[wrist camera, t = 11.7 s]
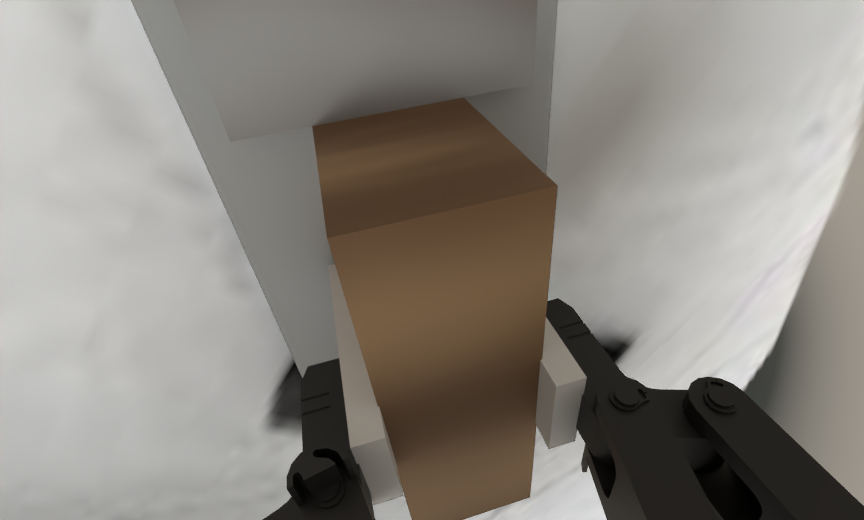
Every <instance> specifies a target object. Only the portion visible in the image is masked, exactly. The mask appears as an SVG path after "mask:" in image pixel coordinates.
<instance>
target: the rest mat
mask: <svg viewBox="0 0 864 520" xmlns="http://www.w3.org/2000/svg"><path fill="white" fill-rule="evenodd" d="M131 1H132V3H133V6H134V8H135V10H136V12H137V15H138V17H139V19H140V21H141V23H142V26H143V28H144V30H145V32H146V34H147V37H148V39H149V41H150V43H151V45H152V48H153V50H154V52H155V54H156V56H157V59H158V61H159V63H160V65H161V67H162V70H163V72H164V74H165V76H166V78H167V81H168V83H169V85H170V87H171V90H172V92H173V94H174V96H175V98H176V101H177V103H178V105H179V107H180V109H181V112H182V114H183V116H184V118H185V120H186V123H187V125H188V127H189V129H190V131H191V134H192V136H193V138H194V140H195V142H196V145H197V147H198V149H199V151H200V153H201V156H202V158H203V160H204V162H205V164H206V167H207V169H208V171H209V173H210V176H211V178H212V180H213V182H214V184H215V187H216V189H217V191H218V193H219V195H220V198H221V200H222V202H223V204H224V206H225V209H226V211H227V213H228V215H229V217H230V220H231V222H232V224H233V226H234V228H235V231H236V233H237V235H238V237H239V239H240V242H241V244H242V246H243V248H244V251H245V253H246V255H247V257H248V259H249V262H250V264H251V266H252V268H253V270H254V273H255V275H256V277H257V279H258V281H259V284H260V286H261V288H262V290H263V292H264V295H265V297H266V299H267V301H268V303H269V306H270V308H271V310H272V312H273V314H274V317H275V319H276V321H277V323H278V325H279V328H280V330H281V332H282V334H283V337H284V339H285V341H286V343H287V345H288V348H289V350H290V352H291V354H292V356H293V359H294V361H295V363H296V365H297V367H298V370H299V372H300V374H301V376H302V378H303V376H304V374H305V372H306V369H307V367H308V366H311V365H315V364H319V363H322V362H326V361H330V360H334V359H337V358H339V352H338V344H337V336H336V328H335V320H334V312H333V304H332V296H331V288H330V279H329V271H328V266H329V265H333V264H335V263H334V260H333V256H332V253H331V250H330V246H329V243H328V240H327V234H326V227H325V219H324V212H323V204H322V197H321V189H320V182H319V174H318V167H317V159H316V152H315V144H314V137H313V129H312V126H311V127H306V128H300V129H295V130H290V131H285V132H279V133H274V134H269V135H264V136H258V137H253V138H248V139H243V140H237V141H232V142H230V140H229V137H228V135H227V132H226V130H225V127H224V125H223V123H222V120H221V118H220V115H219V113H218V110H217V108H216V105H215V103H214V100H213V98H212V95H211V93H210V90H209V88H208V85H207V83H206V80H205V78H204V75H203V73H202V70H201V68H200V65H199V63H198V60H197V58H196V55H195V53H194V50H193V48H192V45H191V43H190V40H189V38H188V35H187V33H186V30H185V28H184V25H183V23H182V21H181V18H180V16H179V13H178V11H177V8H176V6H175V3H174V1H173V0H131ZM556 13H557V0H538V1H537V24H536V46H535V69H534V84H532V85H527V86H521V87H516V88H511V89H506V90H500V91H495V92H490V93H485V94H479V95H474V96H469V97H464V98H465V99H466V100H467V101H468V102H469V103H470V104H471V105H472V106H473V107H474V108H475V109H476V110H477V111H478V112H480V113H481V114H482V115H483V116H484V117H485V118H486V119H487V120H488V121H489V122H490V123H491V124H492V125H493V126H494V127H495V128H497V129H498V130H499V131H500V132H501V133H502V134H503V135H504V136H505V137H506V138H507V139H508V140H509V141H510V142H511V143H513V144H514V145H515V146H516V147H517V148H518V149H519V150H520V151H521V152H522V153H523V154H524V155H525V156H526V157H527V158H528V159H530V160H531V161H532V162H533V163H534V164H535V165H536V166H537V167H538V168H539V169H540V170H541V171H542V172H543V173H544V174H545V175H546V166H547V151H548V136H549V120H550V105H551V90H552V74H553V59H554V44H555V29H556Z"/></svg>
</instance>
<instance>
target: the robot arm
mask: <svg viewBox="0 0 864 520" xmlns="http://www.w3.org/2000/svg"><path fill="white" fill-rule="evenodd" d="M328 271H329V279H330V288H331V296H332V304H333V312H334V320H335V328H336V336H337V344H338V352H339V358H337V359H334V360H330V361H326V362H322V363H319V364H315V365H311V366H308V367H307V369H306V372H305V374H304V376H303V379H302V381H301V401H302V403H301V408H302V441H303V452H302V453H300V454H299V456H298V457H297V458H296V459H295V461H294V462H293V463H292V464H291V467H290V470H289V472H288V475H287V490H288V491H289V493H290V494H291V496H292V497H291V498H290V499H289V500H288V502H287V503H285V504H284V505H283V506H282V507H280V508H279V509H278V510H276V511H275V512H273V513H272V514H270V515H269V516H267V517H266V518H264V519H263V520H375V518H374V512H373V505H375V504H378V503H381V502H384V501H388V500H391V499H394V498H397V497H400V496H403V492H402V487H401V483H400V478H399V473H398V468H397V464H396V461H395V457H394V454H393V451H392V447H391V444H390V441H389V437H388V434H387V431H386V427H385V424H384V421H383V417H382V414H381V411H380V407H378V405H377V402H376V399H375V396H374V392H373V389H372V386H371V382H370V379H369V376H368V372H367V369H366V366H365V362H364V359H363V356H362V352H361V349H360V346H359V342H358V339H357V336H356V333H355V329H354V326H353V323H352V319H351V316H350V313H349V309H348V306H347V303H346V299H345V296H344V293H343V289H342V286H341V283H340V280H339V276H338V273H337V270H336V266H335V264H333V265H329V266H328ZM535 423H536V425H537V427H538V429H539V431H540V433H541V435H542V437H543V439H544V441H545V443H546V445H547V447H548V449H551V448H554V447H557V446H560V445H563V444H566V443H570V442H573V441H575V438H576V433H577V430H578V431H579V433H580V435H581V437H582V438H583V440H584V442H585V443H586V444H585V448H584V453H583V458H582V462H581V465H582V472H587V468H588V466H589V469H590V472H591V475H592V477H593V480H594V483H595V486H596V489H597V492H598V495H599V498H600V501H601V503H602V506H603V509H604V512H605V515H606V518H607V520H864V506H863V505H862V504H861V503H860V502H858V500H857V499H855V497H853V496H852V495H851V494H850V493H849V492H848V491H847V490H846V489H845V488H844V487H843V486H842V485H841V484H840V483H839V482H837V480H836V479H835V478H833V477H832V476H831V475H830V474H829V473H828V472H827V471H826V470H825V469H824V468H823V467H822V466H821V465H820V464H819V463H818V462H817V461H816V460H815V459H813V458H812V457H811V456H810V455H809V454H808V453H807V452H806V451H805V450H804V449H803V448H802V447H801V446H800V445H799V444H798V443H797V442H796V441H795V440H794V439H793V438H792V437H790V436H789V435H788V434H787V433H786V432H785V431H784V430H783V429H782V428H781V427H780V426H779V425H778V424H777V423H776V422H775V421H774V420H773V419H771V417H769V416H768V415H767V414H766V413H765V412H764V411H763V410H762V409H761V408H760V407H759V406H758V405H757V404H756V403H755V402H754V401H753V400H751V398H750V397H748V396H747V395H746V394H745V393H744V392H743V391H742V390H741V389H739V388H738V387H736V386H735V385H734V384H732V383H730V382H727V381H725V380H723V379H720V378H713V377H704V378H698V379H697V380H695V381H694V382H692V383H691V385H690V387H689V389H688V390H659V389H650V388H647V387H645V386H644V385H642V384H641V383H639V382H638V381H636V380H633V379H631V378H628V377H626V376H625V375H624V374H623V373H622V372H621V371H620V370H619V368H618V367H617V366H616V364H615V363H614V362H613V360H612V359H611V358H610V356H609V355H608V354H607V352H606V351H605V350H604V349H603V347H602V346H601V345H600V343H599V342H598V341H597V339H596V338H595V337H594V335H593V334H591V333H590V330H589V329H588V327H587V326H586V325H585V324H583V322H582V320H581V318H580V317H579V316H578V314H577V313H576V312H575V310H574V309H573V308H572V307H570V306H569V305H567V304H566V303H564V302H563V301H561V300H559V299H554V300H550V301H547V310H546V322H545V333H544V344H543V356H542V360H540V372H539V384H538V396H537V408H536V420H535ZM372 502H373V505H372Z"/></svg>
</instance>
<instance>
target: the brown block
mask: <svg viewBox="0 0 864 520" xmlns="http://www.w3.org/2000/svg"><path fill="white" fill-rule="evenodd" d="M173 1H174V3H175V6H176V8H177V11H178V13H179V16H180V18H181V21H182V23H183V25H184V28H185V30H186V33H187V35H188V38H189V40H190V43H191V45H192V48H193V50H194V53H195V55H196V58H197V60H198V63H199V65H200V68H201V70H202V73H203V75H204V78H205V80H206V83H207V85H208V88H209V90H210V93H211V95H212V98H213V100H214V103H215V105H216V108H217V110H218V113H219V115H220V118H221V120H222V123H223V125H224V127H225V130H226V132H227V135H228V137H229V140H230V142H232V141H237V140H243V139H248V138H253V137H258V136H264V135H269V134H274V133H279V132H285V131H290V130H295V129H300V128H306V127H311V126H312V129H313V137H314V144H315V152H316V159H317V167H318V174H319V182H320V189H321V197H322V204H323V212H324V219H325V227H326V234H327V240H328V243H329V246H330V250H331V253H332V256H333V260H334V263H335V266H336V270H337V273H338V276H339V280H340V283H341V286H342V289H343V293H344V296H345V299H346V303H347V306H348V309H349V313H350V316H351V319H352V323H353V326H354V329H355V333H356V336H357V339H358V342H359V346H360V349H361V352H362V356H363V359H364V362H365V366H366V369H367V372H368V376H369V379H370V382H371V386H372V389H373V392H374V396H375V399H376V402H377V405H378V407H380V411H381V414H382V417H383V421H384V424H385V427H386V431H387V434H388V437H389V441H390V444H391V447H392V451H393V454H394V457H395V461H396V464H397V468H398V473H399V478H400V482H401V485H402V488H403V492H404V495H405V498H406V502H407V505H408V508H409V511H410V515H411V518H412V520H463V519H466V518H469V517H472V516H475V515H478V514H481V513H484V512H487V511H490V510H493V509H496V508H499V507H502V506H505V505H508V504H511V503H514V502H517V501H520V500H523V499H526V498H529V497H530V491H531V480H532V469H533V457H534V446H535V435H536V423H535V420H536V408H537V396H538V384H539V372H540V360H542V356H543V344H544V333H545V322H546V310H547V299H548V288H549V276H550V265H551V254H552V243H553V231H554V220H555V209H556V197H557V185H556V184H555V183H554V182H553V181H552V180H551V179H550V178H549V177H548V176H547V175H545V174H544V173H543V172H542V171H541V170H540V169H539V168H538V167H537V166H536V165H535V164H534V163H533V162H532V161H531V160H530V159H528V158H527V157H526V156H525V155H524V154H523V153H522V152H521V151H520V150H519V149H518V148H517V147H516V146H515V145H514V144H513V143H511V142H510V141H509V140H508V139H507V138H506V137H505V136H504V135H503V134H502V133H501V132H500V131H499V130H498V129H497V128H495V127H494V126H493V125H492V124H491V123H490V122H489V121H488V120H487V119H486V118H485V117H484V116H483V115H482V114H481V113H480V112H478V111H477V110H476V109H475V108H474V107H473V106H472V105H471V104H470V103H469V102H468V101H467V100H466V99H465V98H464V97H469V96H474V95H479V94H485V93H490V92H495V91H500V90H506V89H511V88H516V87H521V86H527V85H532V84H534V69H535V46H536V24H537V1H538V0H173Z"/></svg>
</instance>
